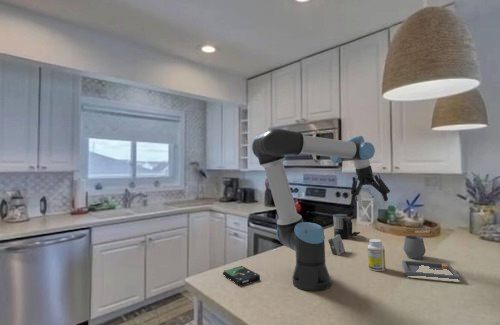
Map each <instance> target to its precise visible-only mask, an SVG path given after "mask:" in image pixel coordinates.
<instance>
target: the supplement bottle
mask: <svg viewBox="0 0 500 325" xmlns="http://www.w3.org/2000/svg"><path fill="white" fill-rule="evenodd" d="M367 262H368V268H369V270H371V271H375V272H383V271H386V255H385V246H383V244H382V239H378V238H372V239H369V244H368V245H367Z"/></svg>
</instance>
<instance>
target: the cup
mask: <svg viewBox="0 0 500 325" xmlns="http://www.w3.org/2000/svg"><path fill="white" fill-rule="evenodd" d="M403 243H404V244H403V251H404V252H405V254H406V256H407V257H408V258H410V259H413V260H421V259H423V258H424V256H425V254H426V246H425V243H424V238H423V237H422V236H419V235H405V237H404V242H403Z"/></svg>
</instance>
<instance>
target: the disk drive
mask: <svg viewBox="0 0 500 325" xmlns="http://www.w3.org/2000/svg"><path fill="white" fill-rule="evenodd" d="M223 275H225V276H226V277H228V278H229V279H231V280H232V281H234V282H235V283H236V284H235V283H234V282H233V283H234V284H235V285H237V284H238V285H237V286H239V285H242V286H244V285H243V284H246V285H248V284H247V283H249V284H251V283H250V282H252V283H255V282H258V281H257V280H259V281H260V280H261V275H260V274H259V273H258V272H255V271H253V270H251V269H249V268H247V267H245V266H243V265H240V266H235V267H232V268H230V269H226V270H223V271H222V276H223ZM226 277H225V278H226ZM228 278H227V279H228ZM229 279H228V280H229ZM231 280H230V281H231ZM232 281H231V282H232ZM254 281H255V282H254Z"/></svg>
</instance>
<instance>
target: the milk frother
mask: <svg viewBox="0 0 500 325" xmlns="http://www.w3.org/2000/svg"><path fill="white" fill-rule="evenodd" d="M332 217H333V218H332V220H333V230H334V231H333V234H334V236H333V237H335V236H337V235H340V236H341V239H342V240H343V239H344V240H345V239H346V240H347V239H349V238H350V237H352V236H354V237H356V236H358V235H360V234H361V232H360V231H353V222H352V220H351V218H348V214H344V213H336V214H335V213H334V214H332Z"/></svg>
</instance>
